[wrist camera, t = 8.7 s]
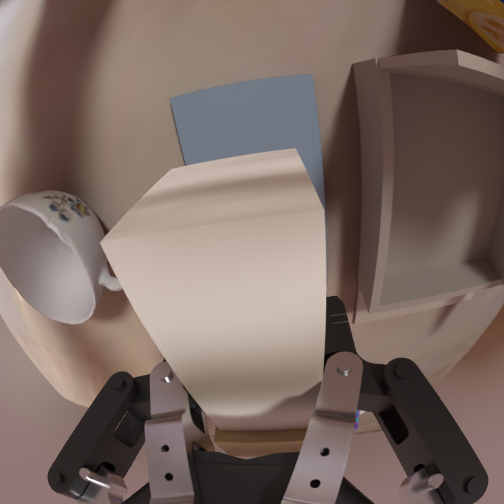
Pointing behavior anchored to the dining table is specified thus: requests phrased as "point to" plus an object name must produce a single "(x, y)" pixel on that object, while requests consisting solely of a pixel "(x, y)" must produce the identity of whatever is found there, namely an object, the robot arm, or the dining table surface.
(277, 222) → the block
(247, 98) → the mat
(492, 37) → the beverage box
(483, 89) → the carton
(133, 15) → the dining table surface
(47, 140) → the dining table surface
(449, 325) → the dining table surface
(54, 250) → the teacup
